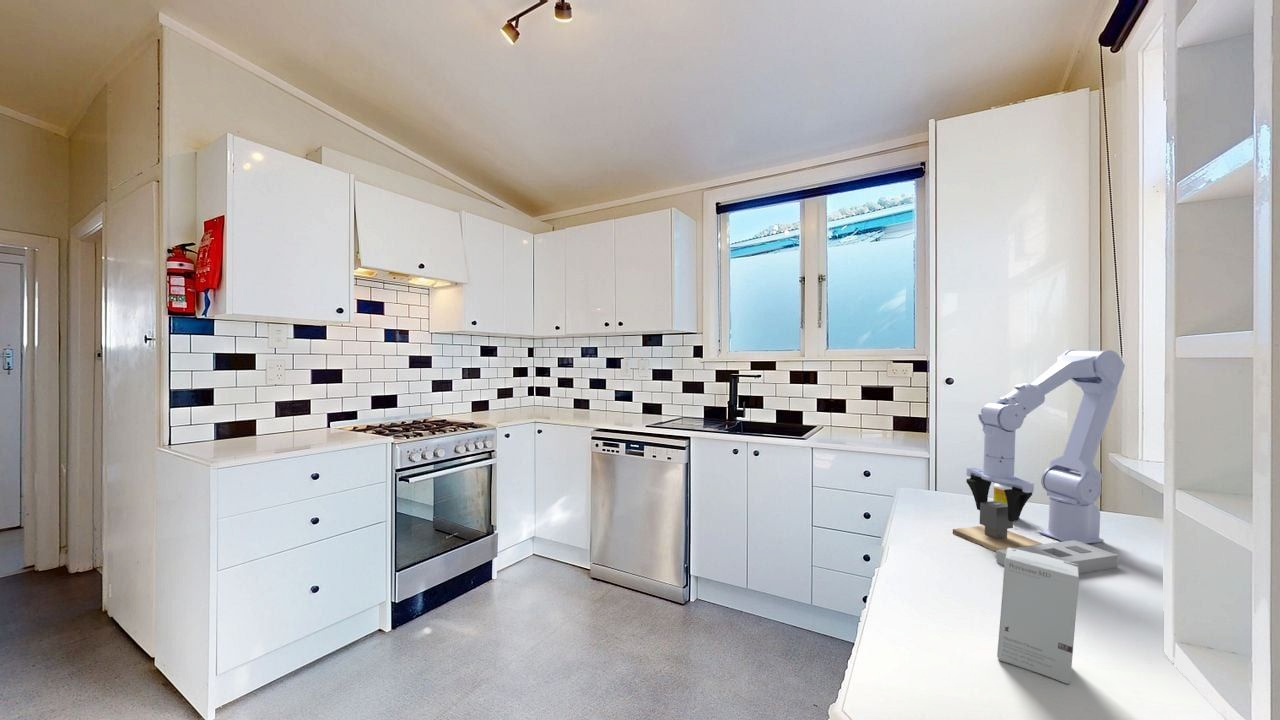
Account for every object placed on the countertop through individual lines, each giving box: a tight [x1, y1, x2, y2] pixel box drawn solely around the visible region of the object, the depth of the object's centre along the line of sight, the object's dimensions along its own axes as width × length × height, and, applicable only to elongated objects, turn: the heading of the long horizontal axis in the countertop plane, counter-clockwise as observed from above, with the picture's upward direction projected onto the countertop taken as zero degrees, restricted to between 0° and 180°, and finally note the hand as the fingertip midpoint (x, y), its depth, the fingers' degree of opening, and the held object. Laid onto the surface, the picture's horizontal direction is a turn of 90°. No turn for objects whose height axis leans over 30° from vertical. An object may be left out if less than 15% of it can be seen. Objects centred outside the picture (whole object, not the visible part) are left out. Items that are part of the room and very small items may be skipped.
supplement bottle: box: [992, 483, 1012, 504], centre depth 132 cm, size 6×6×10 cm
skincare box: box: [996, 548, 1080, 685], centre depth 71 cm, size 8×6×15 cm
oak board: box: [952, 525, 1043, 553], centre depth 116 cm, size 12×12×1 cm
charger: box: [979, 500, 1014, 539], centre depth 115 cm, size 5×4×8 cm
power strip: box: [995, 540, 1119, 574], centre depth 103 cm, size 22×8×3 cm, turn 106°
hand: (996, 515), depth 115 cm, fingers open, 7 cm apart
